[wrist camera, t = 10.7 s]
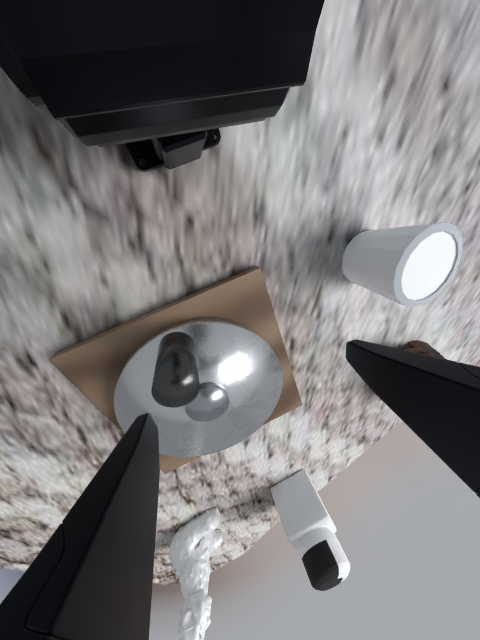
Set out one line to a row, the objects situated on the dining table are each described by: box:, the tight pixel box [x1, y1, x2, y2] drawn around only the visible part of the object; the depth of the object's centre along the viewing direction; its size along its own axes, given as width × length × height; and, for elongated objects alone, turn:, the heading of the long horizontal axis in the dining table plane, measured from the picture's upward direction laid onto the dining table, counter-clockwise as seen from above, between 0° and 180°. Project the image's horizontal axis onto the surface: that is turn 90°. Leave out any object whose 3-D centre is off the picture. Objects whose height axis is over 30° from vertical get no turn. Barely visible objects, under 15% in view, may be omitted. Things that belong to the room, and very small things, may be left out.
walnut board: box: [49, 266, 302, 474], centre depth 24 cm, size 20×20×1 cm
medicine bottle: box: [270, 469, 350, 591], centre depth 34 cm, size 7×7×12 cm
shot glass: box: [342, 222, 462, 307], centre depth 20 cm, size 7×7×7 cm
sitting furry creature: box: [169, 507, 223, 640], centre depth 31 cm, size 10×9×12 cm
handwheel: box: [114, 318, 283, 457], centre depth 20 cm, size 17×17×7 cm
